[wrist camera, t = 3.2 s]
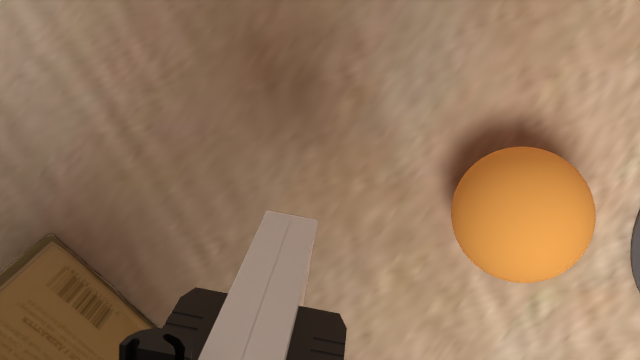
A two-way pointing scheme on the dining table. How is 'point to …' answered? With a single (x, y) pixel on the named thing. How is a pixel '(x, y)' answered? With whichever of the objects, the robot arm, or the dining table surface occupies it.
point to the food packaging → (61, 308)
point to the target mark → (636, 252)
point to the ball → (523, 214)
